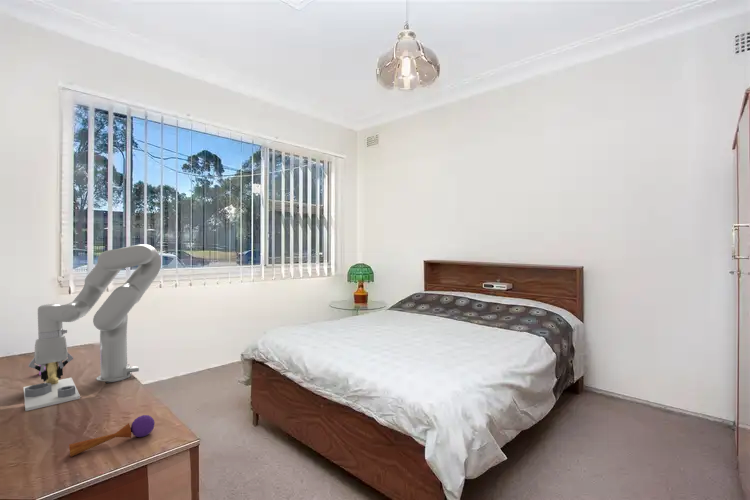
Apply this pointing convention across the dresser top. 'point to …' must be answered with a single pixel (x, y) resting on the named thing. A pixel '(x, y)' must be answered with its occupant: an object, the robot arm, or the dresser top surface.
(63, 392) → the fitting board
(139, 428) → the kendama
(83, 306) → the robot arm
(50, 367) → the brass pipe fitting
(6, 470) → the dresser top surface
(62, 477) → the dresser top surface
